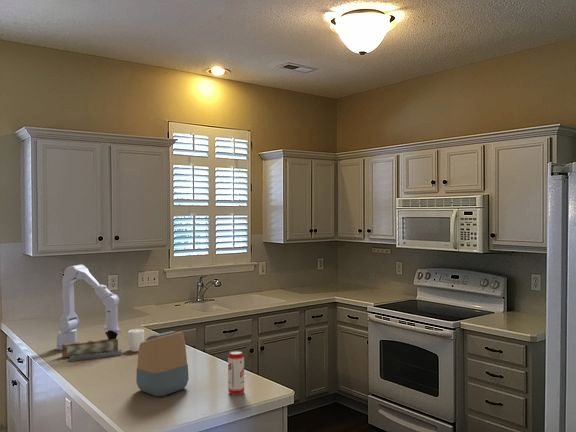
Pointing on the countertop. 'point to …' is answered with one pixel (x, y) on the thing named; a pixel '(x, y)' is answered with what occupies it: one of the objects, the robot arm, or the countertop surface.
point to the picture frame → (89, 347)
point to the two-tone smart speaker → (162, 364)
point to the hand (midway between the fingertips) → (112, 345)
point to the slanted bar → (95, 355)
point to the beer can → (236, 373)
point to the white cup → (135, 339)
